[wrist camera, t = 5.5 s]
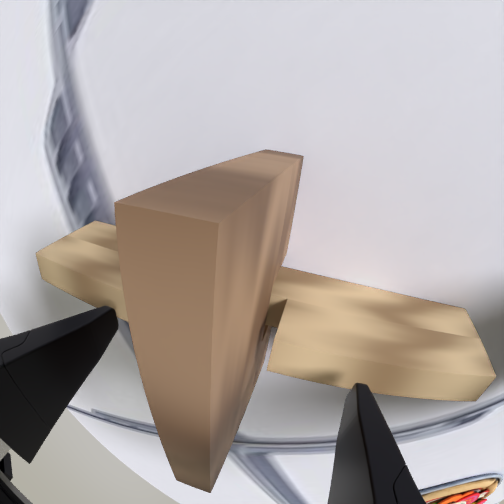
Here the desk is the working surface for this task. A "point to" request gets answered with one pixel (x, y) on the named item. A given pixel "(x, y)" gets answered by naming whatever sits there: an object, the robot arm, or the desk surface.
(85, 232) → the oak board
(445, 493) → the toy pizza
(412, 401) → the desk surface
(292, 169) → the brown tapered flat block
